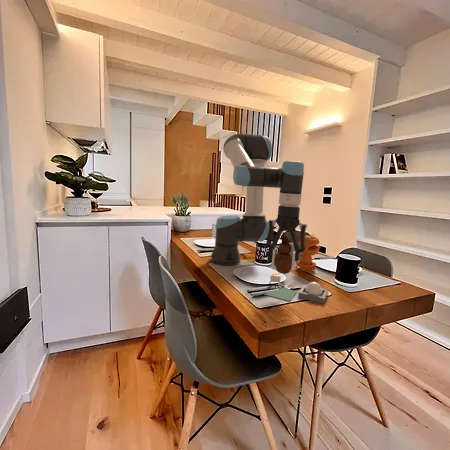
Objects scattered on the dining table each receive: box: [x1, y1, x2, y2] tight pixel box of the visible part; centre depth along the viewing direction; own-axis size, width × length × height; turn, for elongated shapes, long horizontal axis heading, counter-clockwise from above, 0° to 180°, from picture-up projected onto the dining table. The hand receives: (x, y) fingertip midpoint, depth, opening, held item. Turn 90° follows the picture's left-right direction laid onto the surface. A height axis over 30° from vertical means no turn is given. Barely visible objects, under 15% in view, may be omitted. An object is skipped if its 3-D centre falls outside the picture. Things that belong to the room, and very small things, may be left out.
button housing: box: [297, 284, 329, 305], centre depth 100 cm, size 9×9×2 cm
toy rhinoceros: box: [289, 241, 303, 260], centre depth 150 cm, size 7×12×8 cm, turn 26°
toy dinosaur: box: [295, 234, 322, 273], centre depth 128 cm, size 11×11×18 cm
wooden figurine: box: [275, 231, 292, 275], centre depth 98 cm, size 7×6×15 cm
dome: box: [304, 281, 324, 297], centre depth 99 cm, size 6×6×5 cm
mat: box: [263, 287, 298, 302], centre depth 100 cm, size 10×10×1 cm
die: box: [269, 272, 282, 286], centre depth 110 cm, size 4×4×4 cm
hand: (283, 267), depth 99 cm, fingers closed on wooden figurine, 7 cm apart
